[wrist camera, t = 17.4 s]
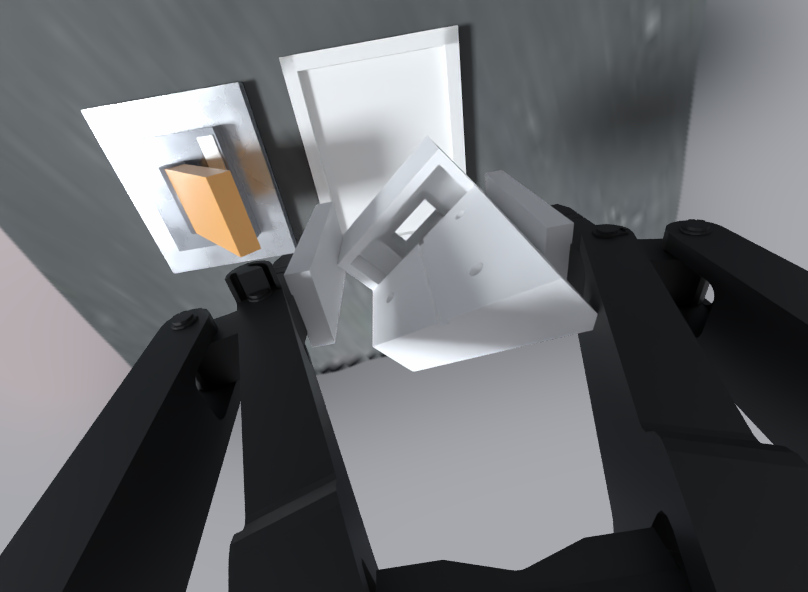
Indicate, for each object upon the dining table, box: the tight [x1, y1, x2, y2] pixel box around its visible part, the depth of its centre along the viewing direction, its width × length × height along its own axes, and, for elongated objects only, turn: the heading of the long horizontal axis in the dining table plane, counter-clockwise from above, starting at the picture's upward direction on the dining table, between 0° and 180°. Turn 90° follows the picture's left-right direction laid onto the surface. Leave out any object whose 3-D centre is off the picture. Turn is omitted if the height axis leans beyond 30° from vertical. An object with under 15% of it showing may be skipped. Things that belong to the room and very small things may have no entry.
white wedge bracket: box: [337, 135, 598, 372], centre depth 13 cm, size 4×10×9 cm, turn 138°
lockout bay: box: [279, 25, 466, 240], centre depth 30 cm, size 16×13×1 cm
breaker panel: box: [81, 82, 297, 273], centre depth 30 cm, size 14×12×2 cm
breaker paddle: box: [158, 162, 261, 257], centre depth 25 cm, size 5×2×11 cm
